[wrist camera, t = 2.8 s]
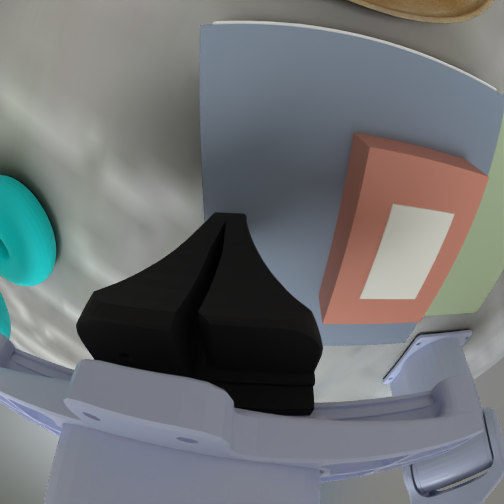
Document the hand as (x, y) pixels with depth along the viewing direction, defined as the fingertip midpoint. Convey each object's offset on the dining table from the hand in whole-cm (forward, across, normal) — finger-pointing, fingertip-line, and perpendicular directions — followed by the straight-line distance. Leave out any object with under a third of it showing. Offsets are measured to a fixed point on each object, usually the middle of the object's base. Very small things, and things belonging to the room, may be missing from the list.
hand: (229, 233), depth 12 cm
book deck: (+4, -6, 0) cm, 7 cm away
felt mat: (+4, -18, 0) cm, 18 cm away
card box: (+1, -8, 0) cm, 8 cm away
